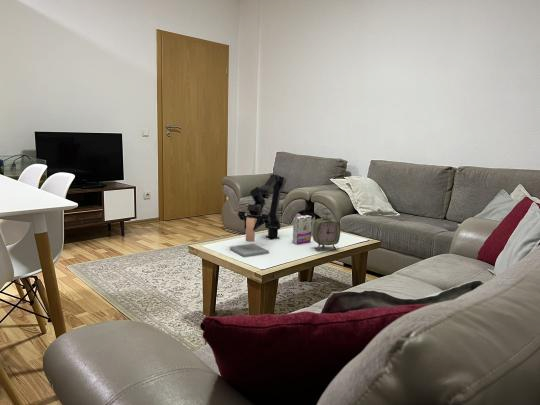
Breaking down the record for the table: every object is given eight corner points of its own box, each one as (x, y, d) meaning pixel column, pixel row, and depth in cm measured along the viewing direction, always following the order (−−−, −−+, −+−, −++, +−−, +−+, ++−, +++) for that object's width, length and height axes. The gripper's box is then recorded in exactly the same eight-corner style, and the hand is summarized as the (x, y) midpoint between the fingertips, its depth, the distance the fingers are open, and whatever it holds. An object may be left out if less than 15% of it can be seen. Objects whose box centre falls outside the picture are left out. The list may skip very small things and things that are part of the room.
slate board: (229, 249, 246) (229, 246, 246) (253, 246, 255) (253, 243, 255) (244, 257, 233) (244, 254, 233) (268, 253, 242) (269, 250, 242)
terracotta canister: (245, 239, 245) (246, 216, 243) (254, 239, 246) (255, 217, 243) (245, 241, 240) (246, 218, 238) (254, 241, 241) (255, 219, 238)
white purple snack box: (312, 237, 281) (314, 214, 279) (291, 234, 286) (293, 212, 283) (315, 234, 290) (317, 212, 287) (295, 231, 294) (296, 209, 291)
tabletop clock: (316, 251, 250) (318, 209, 245) (310, 247, 258) (312, 206, 254) (339, 250, 254) (342, 208, 249) (332, 246, 262) (335, 205, 258)
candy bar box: (305, 240, 273) (307, 214, 270) (310, 242, 269) (312, 216, 266) (291, 242, 266) (293, 216, 263) (297, 244, 262) (298, 218, 259)
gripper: (239, 196, 246) (229, 219, 238) (269, 200, 239) (261, 223, 231) (245, 208, 254) (236, 230, 246) (274, 211, 248) (266, 234, 240)
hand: (249, 229), depth 241 cm, fingers closed on terracotta canister, 5 cm apart
